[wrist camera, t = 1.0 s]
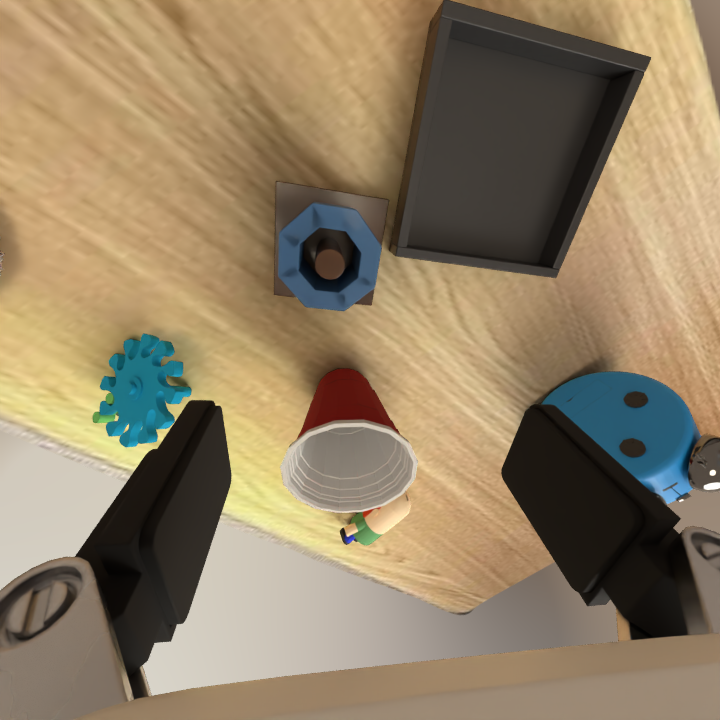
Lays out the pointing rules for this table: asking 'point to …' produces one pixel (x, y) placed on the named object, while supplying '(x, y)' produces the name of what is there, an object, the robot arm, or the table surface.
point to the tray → (507, 140)
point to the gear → (140, 391)
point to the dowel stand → (325, 230)
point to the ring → (312, 285)
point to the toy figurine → (376, 521)
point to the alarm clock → (643, 431)
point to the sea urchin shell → (1, 260)
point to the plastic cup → (348, 450)
